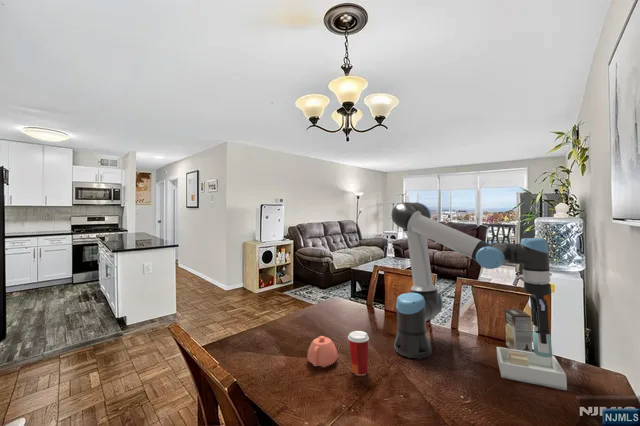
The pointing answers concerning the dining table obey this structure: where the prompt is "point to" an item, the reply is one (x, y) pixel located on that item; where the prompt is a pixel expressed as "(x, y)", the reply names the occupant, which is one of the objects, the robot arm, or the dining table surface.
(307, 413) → the dining table surface
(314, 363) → the sugar bowl
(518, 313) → the coffee box
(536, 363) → the tray
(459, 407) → the dining table surface
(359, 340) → the paper cup
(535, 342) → the teal cylinder
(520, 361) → the beech cube
